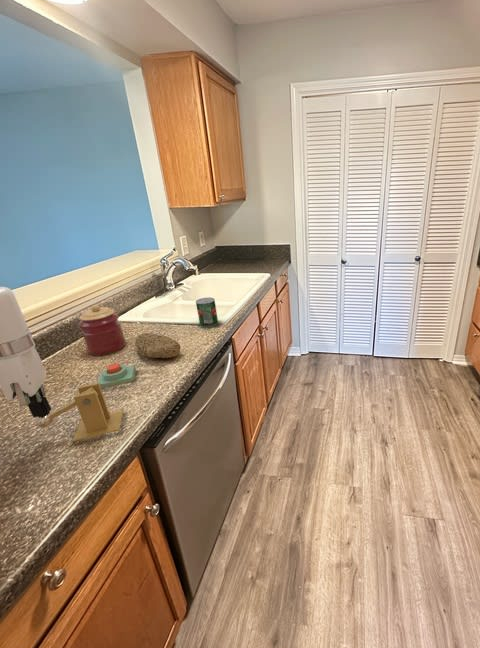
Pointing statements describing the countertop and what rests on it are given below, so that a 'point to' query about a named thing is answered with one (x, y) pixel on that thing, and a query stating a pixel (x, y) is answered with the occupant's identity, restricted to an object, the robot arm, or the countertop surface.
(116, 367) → the button
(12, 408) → the countertop surface
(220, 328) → the countertop surface
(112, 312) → the kitchen canister
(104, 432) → the bracket
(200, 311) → the canned tomato
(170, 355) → the speckled river stone
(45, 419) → the tap lever
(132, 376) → the switch block
